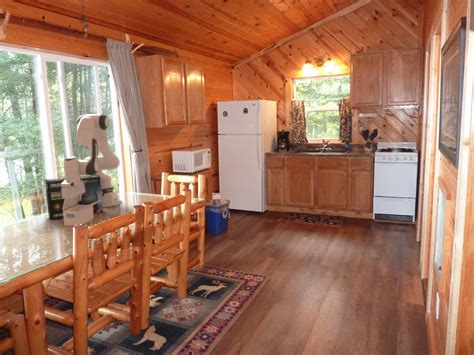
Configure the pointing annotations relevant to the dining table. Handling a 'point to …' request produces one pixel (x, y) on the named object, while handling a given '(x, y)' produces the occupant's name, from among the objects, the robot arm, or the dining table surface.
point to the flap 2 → (90, 205)
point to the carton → (78, 215)
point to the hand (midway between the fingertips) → (75, 202)
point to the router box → (87, 198)
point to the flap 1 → (73, 200)
